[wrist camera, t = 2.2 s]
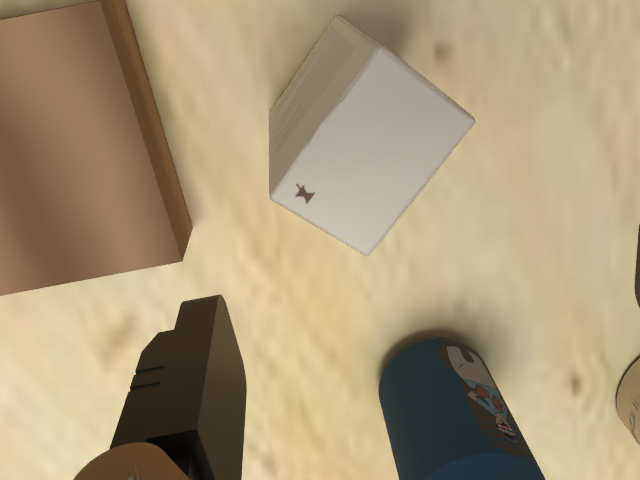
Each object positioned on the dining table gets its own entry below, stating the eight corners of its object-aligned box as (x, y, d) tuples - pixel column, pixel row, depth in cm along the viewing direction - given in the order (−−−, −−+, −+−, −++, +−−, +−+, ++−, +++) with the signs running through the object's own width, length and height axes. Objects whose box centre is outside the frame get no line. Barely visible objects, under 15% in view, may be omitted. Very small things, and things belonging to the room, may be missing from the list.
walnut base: (123, -5, 27) (99, 1, 23) (192, 227, 32) (182, 261, 29) (-130, 45, 27) (-192, 57, 23) (-20, 268, 32) (-57, 306, 29)
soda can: (378, 420, 39) (418, 595, 28) (372, 335, 36) (414, 494, 25) (480, 407, 39) (559, 576, 28) (482, 321, 36) (571, 474, 25)
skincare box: (334, 159, 31) (365, 264, 20) (266, 113, 30) (262, 200, 19) (405, 62, 29) (482, 121, 18) (337, 9, 28) (376, 39, 17)
